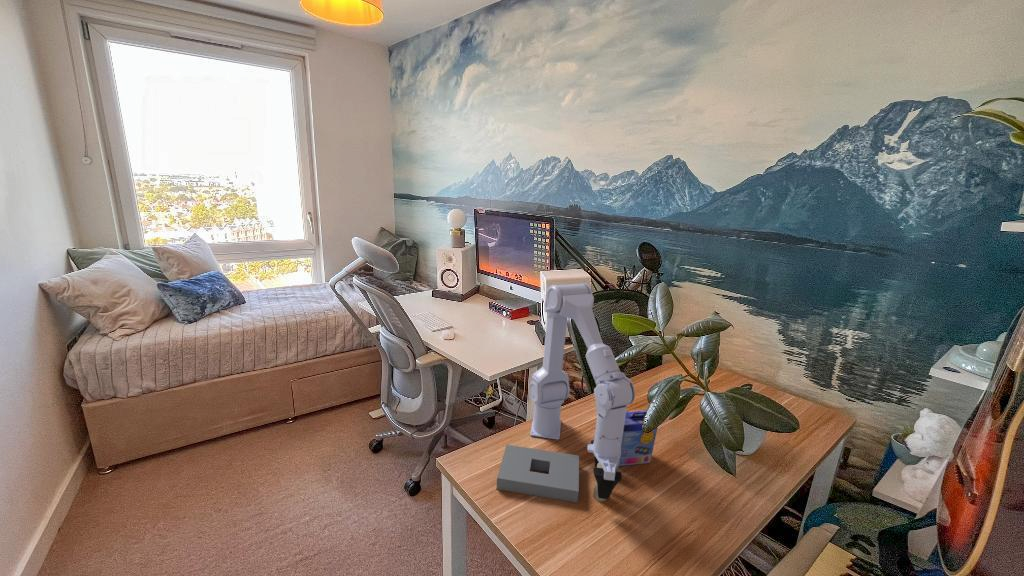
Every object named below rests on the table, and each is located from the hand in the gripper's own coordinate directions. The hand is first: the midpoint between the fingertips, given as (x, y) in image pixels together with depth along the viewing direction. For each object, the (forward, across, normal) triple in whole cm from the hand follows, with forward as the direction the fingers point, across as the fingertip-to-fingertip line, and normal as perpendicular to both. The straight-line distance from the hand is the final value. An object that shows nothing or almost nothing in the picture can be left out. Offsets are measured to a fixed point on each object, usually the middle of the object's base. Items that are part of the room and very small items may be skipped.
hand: (601, 484), depth 91 cm
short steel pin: (+3, -8, +3) cm, 9 cm away
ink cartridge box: (+3, -15, +9) cm, 17 cm away
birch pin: (+3, 0, 0) cm, 3 cm away
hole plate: (+3, -4, -14) cm, 15 cm away
